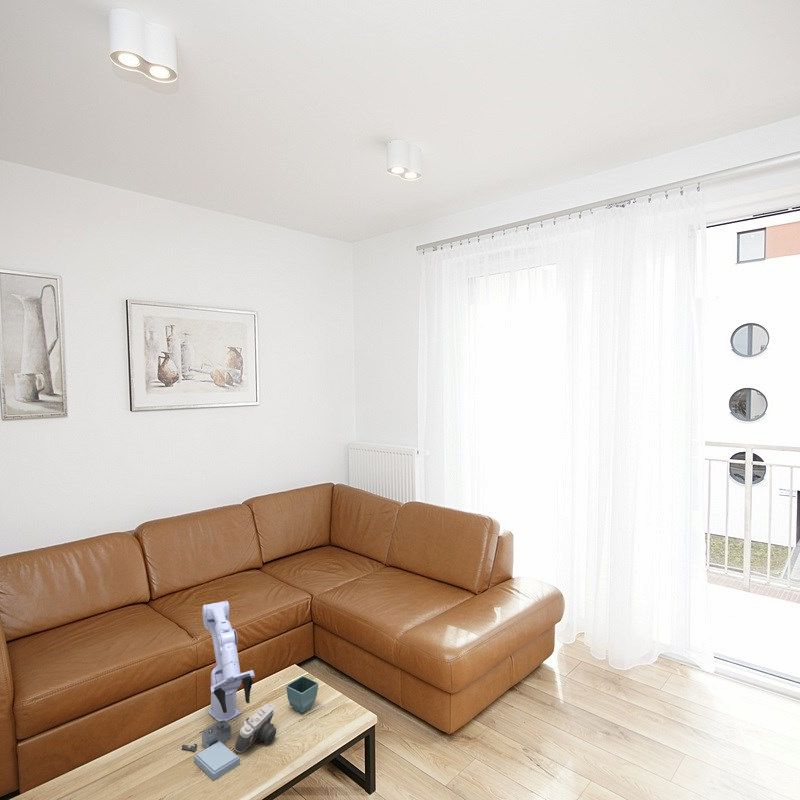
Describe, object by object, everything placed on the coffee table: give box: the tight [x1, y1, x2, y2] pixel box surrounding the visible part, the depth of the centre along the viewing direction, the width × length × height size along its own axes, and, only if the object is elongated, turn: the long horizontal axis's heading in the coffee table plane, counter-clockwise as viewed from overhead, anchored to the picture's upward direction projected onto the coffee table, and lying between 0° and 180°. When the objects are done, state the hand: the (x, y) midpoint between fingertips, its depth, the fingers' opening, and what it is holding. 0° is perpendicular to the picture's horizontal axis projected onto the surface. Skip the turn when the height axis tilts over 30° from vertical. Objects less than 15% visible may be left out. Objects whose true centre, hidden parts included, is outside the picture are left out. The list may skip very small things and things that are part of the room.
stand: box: [193, 741, 241, 781], centre depth 163 cm, size 12×9×2 cm
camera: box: [233, 703, 277, 753], centre depth 173 cm, size 9×16×10 cm, turn 156°
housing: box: [201, 720, 232, 750], centre depth 173 cm, size 4×8×6 cm, turn 139°
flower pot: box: [285, 675, 319, 714], centre depth 192 cm, size 9×9×9 cm
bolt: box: [181, 743, 198, 752], centre depth 169 cm, size 5×2×2 cm, turn 79°
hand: (236, 707), depth 170 cm, fingers open, 7 cm apart
